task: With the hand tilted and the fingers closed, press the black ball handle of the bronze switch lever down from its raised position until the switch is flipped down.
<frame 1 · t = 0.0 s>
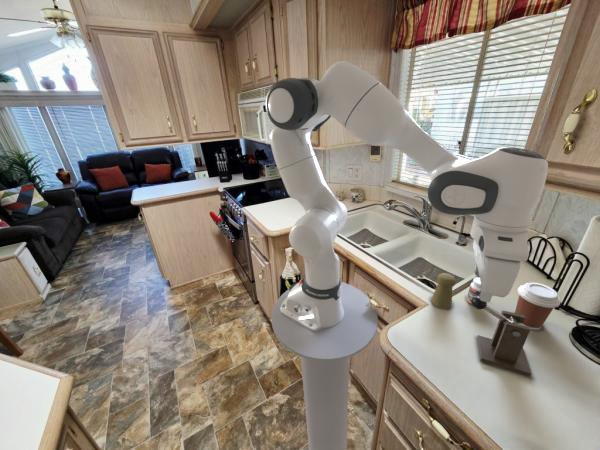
hand: (481, 286, 56), 24 cm above the worktop, tool pointing down, fingers open, 8 cm apart
coffee cup: (527, 321, 75), on the worktop
pill bottle: (474, 301, 84), on the worktop
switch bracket: (501, 355, 65), on the worktop
olive tapered figurine: (441, 302, 84), on the worktop
lever: (495, 313, 62), point 13 cm above the worktop, hinge at 28.0°
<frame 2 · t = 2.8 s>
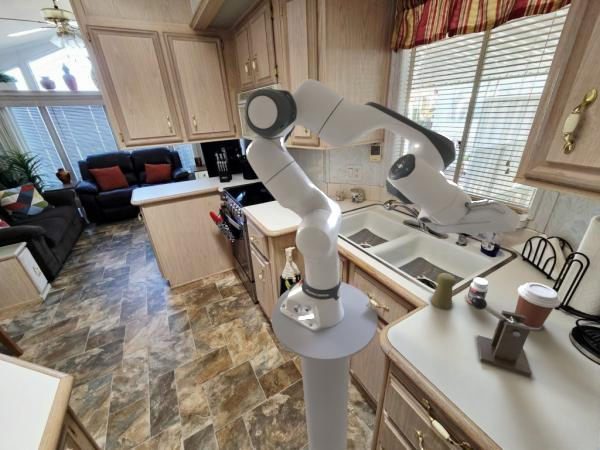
hand: (486, 237, 61), 31 cm above the worktop, tool tilted 50°, fingers closed
nothing on the worktop moved.
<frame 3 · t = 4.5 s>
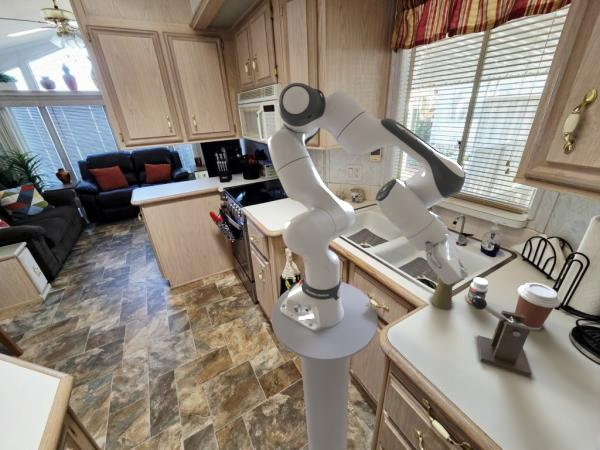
hand: (464, 274, 62), 22 cm above the worktop, tool tilted 45°, fingers closed
nothing on the worktop moved.
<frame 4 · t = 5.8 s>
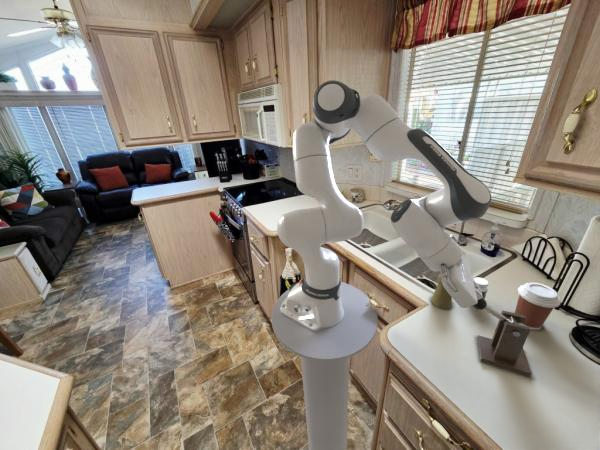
hand: (479, 295, 62), 17 cm above the worktop, tool tilted 45°, fingers closed, pressing on lever
lever: (495, 313, 62), point 13 cm above the worktop, hinge at 27.7°, touching gripper
everything else where it was.
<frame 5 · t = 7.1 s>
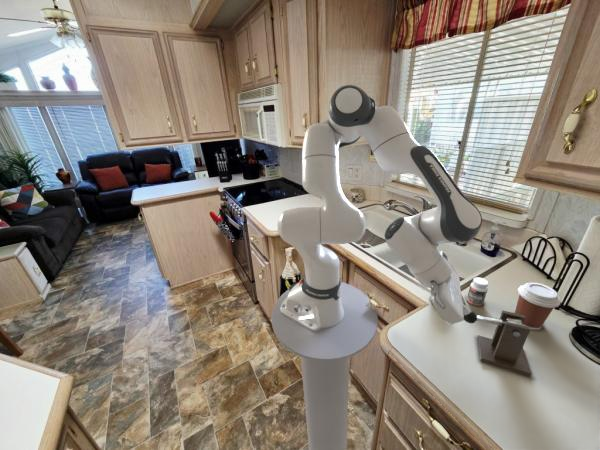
hand: (467, 310, 65), 12 cm above the worktop, tool tilted 45°, fingers closed, pressing on lever
lever: (490, 320, 63), point 11 cm above the worktop, hinge at -5.3°, touching gripper
everything else where it was.
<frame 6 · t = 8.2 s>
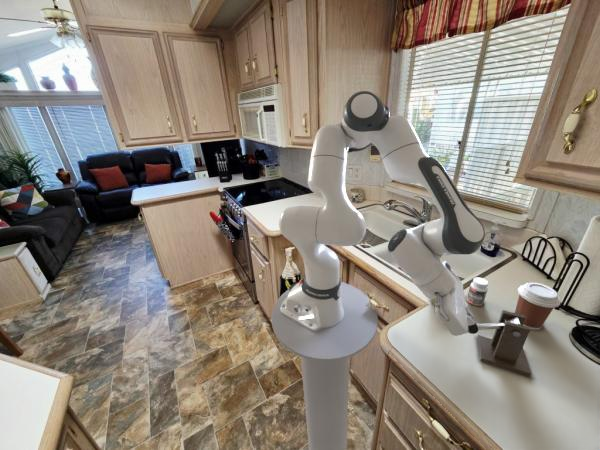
hand: (471, 321, 65), 9 cm above the worktop, tool tilted 45°, fingers closed, pressing on lever
lever: (491, 326, 64), point 9 cm above the worktop, hinge at -27.8°, touching gripper
everything else where it was.
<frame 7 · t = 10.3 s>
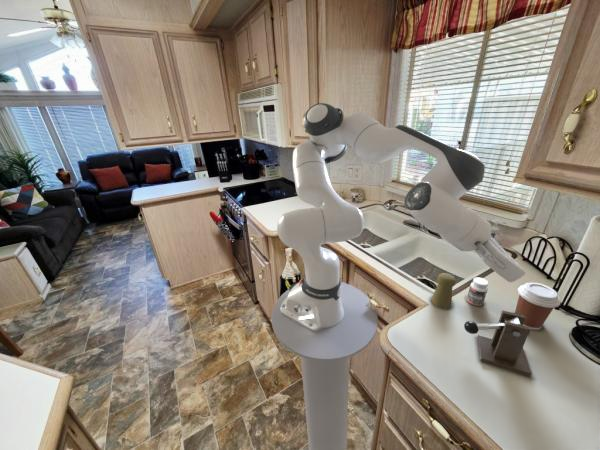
hand: (507, 260, 60), 26 cm above the worktop, tool tilted 55°, fingers closed
lever: (491, 326, 64), point 9 cm above the worktop, hinge at -27.8°
everything else where it was.
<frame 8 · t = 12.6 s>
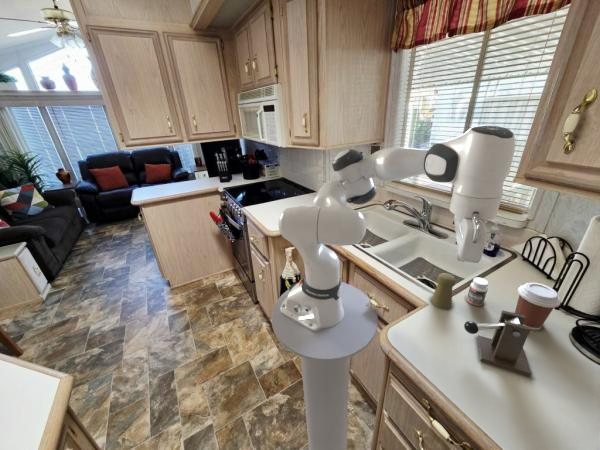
hand: (460, 258, 60), 27 cm above the worktop, tool pointing down, fingers closed
nothing on the worktop moved.
at the end: lever at -28° (first picture: +28°) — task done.
